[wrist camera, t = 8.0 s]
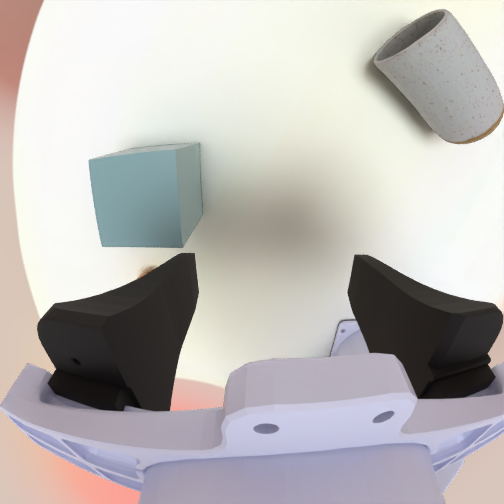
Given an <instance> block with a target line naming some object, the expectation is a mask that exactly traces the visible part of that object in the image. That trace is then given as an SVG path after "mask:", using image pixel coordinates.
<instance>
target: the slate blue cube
mask: <svg viewBox="0 0 504 504" xmlns="http://www.w3.org/2000/svg"><path fill="white" fill-rule="evenodd" d="M89 170H90V179H91V187H92V194H93V201H94V207H95V213H96V219H97V224H98V229H99V235H100V239H101V244H102V247H164V248H183V247H184V245H185V243H186V241H187V240H188V238H189V236H190V235H191V233H192V231H193V230H194V228H195V226H196V225H197V223H198V221H199V220H200V218H201V216H202V215H203V212H202V193H201V168H200V143H184V144H171V145H159V146H149V147H140V148H132V149H127V150H123V151H119V152H115V153H111V154H108V155H104V156H100V157H97V158H93V159H90V160H89Z"/></svg>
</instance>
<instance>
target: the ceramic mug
mask: <svg viewBox="0 0 504 504" xmlns="http://www.w3.org/2000/svg"><path fill="white" fill-rule="evenodd" d="M373 62H374V64H375V65H376V67H377V68H378V69H380V70H381V71H382V72H383V73H384V74H385V75H386V76H387V77H388V78H389V79H390V80H391V81H392V83H393V84H394V85H395V86H396V87H397V88H398V89H399V90H400V91H401V92H402V94H403V95H404V96H405V97H406V98H407V99H408V100H409V101H410V102H411V104H412V105H413V106H414V107H415V108H416V109H417V111H418V112H419V113H420V115H421V116H422V117H423V119H424V120H425V121H426V122H427V124H428V125H429V126H430V127H431V128H432V129H433V130H434V131H435V132H436V133H437V134H438V135H439V136H440V137H441V138H442V139H443V140H445V141H447V142H450V143H455V144H468V143H472V142H476V141H478V140H481V139H482V138H484V137H486V136H487V135H489V134H491V133H492V132H493V131H494V130H495V128H496V127H497V126H498V125H499V123H500V121H501V119H502V117H503V113H504V104H503V100H502V96H501V93H500V90H499V88H498V86H497V83H496V81H495V79H494V77H493V76H492V74H491V72H490V70H489V69H488V67H487V65H486V64H485V62H484V61H483V59H482V57H481V56H480V54H479V52H478V51H477V49H476V47H475V46H474V44H473V43H472V41H471V40H470V38H469V37H468V35H467V34H466V32H465V31H464V29H463V28H462V27H461V25H460V24H459V23H458V21H457V20H456V19H455V17H454V16H453V15H452V14H451V13H450V12H449V11H447V10H444V9H441V10H435V11H432V12H430V13H428V14H425V15H423V16H422V17H420V18H418V19H416V20H415V21H413V22H412V23H410V24H408V25H407V26H406V27H404V28H403V29H401V30H400V31H399V32H397V33H396V34H395V35H394V36H393V37H392V38H391V39H389V40H388V41H387V42H386V43H385V44H384V45H383V46H382V47H381V48H380V50H379V51H378V52H377V53H376V55H375V57H374V60H373Z"/></svg>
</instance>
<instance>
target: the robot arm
mask: <svg viewBox="0 0 504 504" xmlns="http://www.w3.org/2000/svg"><path fill="white" fill-rule="evenodd" d="M198 294H199V289H198V280H197V272H196V263H195V253H180V254H178V255H176V256H175V257H173V258H171V259H170V260H168V261H167V262H165V263H164V264H162V265H160V266H159V267H157V268H156V269H154V270H152V271H151V272H149V273H147V274H145V275H144V276H142V277H140V278H138V279H137V280H135V281H133V282H130V283H128V284H126V285H124V286H122V287H119V288H117V289H114V290H111V291H108V292H105V293H103V294H100V295H96V296H92V297H89V298H84V299H80V300H75V301H68V302H62V303H55V304H54V305H53V306H52V307H51V308H50V309H49V310H48V311H47V312H46V314H45V315H44V316H43V317H42V318H41V319H40V321H39V323H38V326H37V331H38V336H39V339H40V341H41V343H42V346H43V347H44V349H45V351H46V353H47V354H48V356H49V358H50V359H51V361H52V363H53V364H54V366H55V368H56V370H55V372H54V374H53V375H52V374H51V373H50V372H49V371H47V370H45V369H43V368H40V367H38V366H35V365H33V364H30V363H27V365H26V366H25V368H24V369H23V370H22V372H21V373H20V375H19V376H18V378H17V379H16V381H15V382H14V384H13V385H12V387H11V389H10V390H9V392H8V393H7V395H6V397H5V398H4V400H3V401H2V403H1V405H0V409H1V410H2V411H3V412H4V413H5V414H6V415H7V417H8V418H9V419H10V420H11V421H12V422H13V423H14V424H15V425H16V426H17V427H19V429H20V430H21V431H22V432H23V433H25V434H26V435H27V436H28V437H29V438H30V439H31V440H32V441H33V442H34V443H36V444H37V445H39V446H41V447H42V448H44V449H46V450H48V451H49V452H51V453H53V454H55V455H57V456H59V457H61V458H62V459H64V460H66V461H69V462H70V463H72V464H74V465H76V466H78V467H80V468H82V469H84V470H87V471H89V472H91V473H93V474H95V475H98V476H100V477H102V478H104V479H107V480H109V481H112V482H114V483H117V484H119V485H122V486H125V487H128V488H131V489H133V490H136V491H139V492H141V494H140V499H139V503H138V504H446V503H445V500H444V496H443V493H444V492H445V490H446V488H447V487H448V486H449V485H450V483H451V482H452V480H453V479H454V478H455V476H456V474H457V473H458V472H459V470H460V468H461V467H462V465H463V464H464V457H466V456H468V455H470V454H472V453H473V452H475V451H476V450H478V449H480V448H482V447H483V446H485V445H487V444H488V443H490V442H491V441H493V440H494V439H496V438H498V437H499V436H501V435H502V434H503V433H504V362H502V363H500V364H498V365H496V366H494V367H493V368H492V369H490V367H489V366H488V364H489V363H490V361H491V358H490V357H489V355H488V352H489V350H490V349H491V347H492V345H493V343H494V342H495V340H496V338H497V336H498V334H499V332H500V330H501V327H502V324H503V314H502V312H501V311H500V310H499V309H498V307H497V306H496V305H495V304H493V303H488V302H481V301H474V300H469V299H465V298H460V297H457V296H453V295H450V294H447V293H444V292H441V291H438V290H435V289H433V288H430V287H428V286H426V285H423V284H421V283H419V282H417V281H415V280H413V279H411V278H409V277H407V276H405V275H403V274H402V273H400V272H398V271H396V270H395V269H393V268H391V267H389V266H388V265H386V264H384V263H383V262H381V261H379V260H377V259H375V258H373V257H371V256H369V255H355V256H354V261H353V267H352V272H351V278H350V283H349V288H348V297H349V301H350V305H351V308H352V311H353V314H354V316H355V318H356V321H343V322H341V323H340V324H339V326H338V330H337V334H336V338H335V341H334V345H333V348H332V352H331V355H330V357H317V358H284V359H267V360H261V361H255V362H249V363H247V364H245V365H243V366H242V367H240V368H239V369H237V370H235V371H234V372H232V373H230V376H229V378H228V381H227V384H226V387H225V395H224V404H223V407H219V408H210V409H197V410H184V411H170V406H171V398H172V391H173V385H174V380H175V374H176V369H177V364H178V359H179V355H180V351H181V348H182V345H183V342H184V339H185V336H186V334H187V331H188V328H189V326H190V323H191V320H192V317H193V314H194V312H195V308H196V304H197V299H198ZM342 329H344V330H342Z"/></svg>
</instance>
